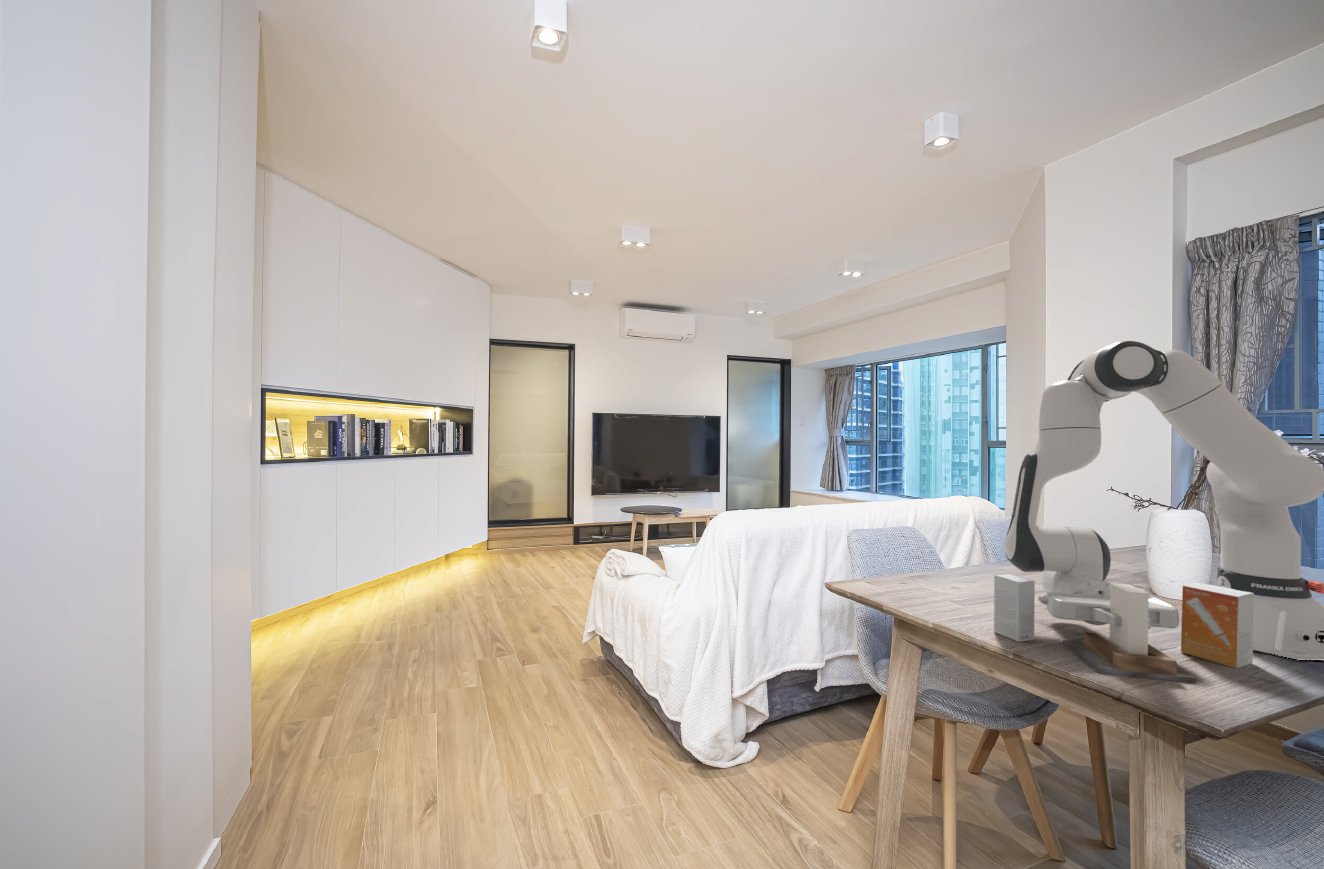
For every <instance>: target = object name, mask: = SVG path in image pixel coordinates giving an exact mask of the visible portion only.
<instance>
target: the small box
mask: <svg viewBox="0 0 1324 869" xmlns="http://www.w3.org/2000/svg"><path fill="white" fill-rule="evenodd" d="M1181 594H1182V600H1181V603H1182V604H1181V631H1180V633H1181V637H1180V638H1181V640H1180V652H1181V653H1182V654H1186V655H1190V656H1192V657H1197V658H1199V659H1203V660H1207V661H1211V662H1213V663H1216V664H1220V665H1223V666H1226V667H1230V668H1233V669H1236V670H1237V669H1240V668H1242V667H1245V666H1248V665H1251V664H1253V659H1254V657H1253V656H1254V650H1253V618H1254V593H1251V592H1245V591H1239V590H1235V589H1230V588H1225V587H1220V586H1217V585H1213V584H1207V583H1201V582H1194V583H1189V584H1185V585H1182V593H1181Z"/></svg>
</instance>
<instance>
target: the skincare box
mask: <svg viewBox="0 0 1324 869" xmlns="http://www.w3.org/2000/svg"><path fill="white" fill-rule="evenodd" d="M993 576H994V577H993V578H994V580H993V581H994V586H993V587H994V588H993V590H994V593H993V594H994V597H993V598H994V600H993V601H994V602H993V604H994V605H993V606H994V608H993V632H994V634H997V635H1001V636H1003V637H1006V638H1008V639H1011V640H1013V641H1016V642H1026V641H1027V642H1028V641H1035V591H1036V590H1035V589H1036V588H1035V586H1036V585H1035V584H1036V582H1035V580H1034V579H1033V580H1032V579H1030V578H1029V579H1028V578H1024V577H1022V576H1021V577H1020V576H1017V575H1014V574H1009V573H1007V574H995V575H993Z"/></svg>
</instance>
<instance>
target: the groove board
mask: <svg viewBox="0 0 1324 869" xmlns="http://www.w3.org/2000/svg"><path fill="white" fill-rule="evenodd" d="M1062 645H1063V646H1064V647H1066V648H1067V649H1069V650H1070V651H1071V652H1072V653H1074V654H1075V655H1076V656H1077V657H1079V659H1081V660H1082V661H1084V662H1085V663H1086V664H1087V665H1089V666H1090V667H1091V668H1092V669H1094V670H1095V672H1097V673H1098V674H1099V673H1100V674H1105V675H1107V674H1108V675H1115V676H1116V675H1118V676H1126V677H1127V676H1128V677H1134V678H1135V677H1137V678H1138V677H1139V678H1147V679H1154V680H1155V679H1157V680H1165V681H1177V682H1185V683H1186V682H1187V683H1193V684H1194V683H1197V677H1195V676H1194V675H1193V674H1191V673H1189V672H1187V671H1186V670H1184V669H1182V668H1181V667H1179V666H1178V665H1177V662H1178V661H1177V660H1176V659H1174V658H1172V657H1170V656H1169V655H1167V654H1166V653H1164V652H1163V651H1160V650H1159V649H1157V648H1156V647H1155V646H1152V645H1151V644H1149V643H1148V656H1147V655H1137V654H1126V653H1125V652H1123V651H1122V650H1120V649H1119V648H1117V647H1116V646H1114V645H1113V644H1111V643H1110V640H1107V639H1106V638H1104V637H1103V636H1102V635H1100V634H1098V633H1097V632H1089V631H1084V632H1083V641H1081V640H1070V639H1069V640H1068V639H1062Z"/></svg>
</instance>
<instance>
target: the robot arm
mask: <svg viewBox="0 0 1324 869" xmlns="http://www.w3.org/2000/svg"><path fill="white" fill-rule="evenodd" d="M1133 392H1134V393H1138V394H1140V395H1142V396H1144V397H1145V398H1147V399H1148V400H1149V401H1150V402H1152V404H1153V405H1154V407H1155V408H1156V409H1157V410H1158V411H1159V413H1160V414H1161V415H1162V416H1163V417H1164V418H1165V420H1166V421H1167V422H1168V423H1169V424H1170V425H1171V427H1173V429H1174V430H1175V431H1176V432H1177V433H1178V435H1180V437H1181V438H1182V439H1183V441H1184V442H1185V443H1187V445H1189V446H1191V447H1192V448H1193V449H1195V450H1196V451H1198V453H1200V454H1201V455H1202V456H1204V457H1205V458H1206V459H1207V460H1208V461H1209V463H1208V465H1207V467H1206V472H1205V473H1206V474H1205V476H1206V479H1207V481H1208V483H1209V485H1210V488H1211V491H1212V496H1213V500H1214V505H1215V506H1214V507H1215V509H1216V514H1217V518H1218V523H1219V531H1220V566H1219V567H1217V574H1216V586H1220V587H1225V588H1230V589H1235V590H1239V591H1245V592H1251V593H1254V618H1253V651H1257V652H1261V653H1266V654H1270V653H1271V655H1274V654H1275V655H1274V656H1277V655H1278V657H1281V656H1283V657H1282V658H1284V657H1287V658H1286V659H1288V658H1294V659H1302V660H1303V659H1305V660H1307V659H1309V660H1311V659H1324V605H1323V604H1322V603H1320V602H1319V601H1317V600H1316V599H1314V598H1313V595H1312V593H1311V592H1315V593H1318V594H1323V595H1324V583H1323V582H1318V581H1316V580H1312V581H1308V580H1307V579H1305V578H1303V577H1301V573H1302V572H1301V564H1302V562H1301V561H1302V560H1301V559H1302V556H1301V555H1302V553H1301V552H1302V540H1301V535H1300V534H1299V532H1298V530H1296V528H1295V525H1294V524H1293V521H1292V519H1291V515H1290V514H1291V513H1290V511H1289V507H1296V506H1301V505H1304V504H1309V503H1311V502H1313V501H1315V500H1316V499H1317V498H1319V497H1320V496H1321V495H1322V494H1323V493H1324V469H1323V467H1321V465H1320V464H1319V463H1317V462H1316V461H1314V460H1313V459H1311V458H1310V457H1307V456H1306V455H1304V454H1302V453H1301V452H1300V451H1298V450H1297V449H1296V448H1294V447H1293V446H1292V445H1291V444H1289V443H1288V442H1287V441H1286V440H1284V439H1283V438H1282V437H1281V436H1279V435H1278V434H1277V433H1276V432H1274V431H1273V430H1272V429H1270V428H1269V427H1268V426H1267V425H1265V424H1264V423H1263V422H1261V421H1260V420H1259V419H1258V418H1256V417H1255V416H1254V414H1252V413H1251V411H1249V410H1248V409H1247V408H1246V407H1245V406H1244V405H1243V404H1242V403H1241V402H1240V400H1238V398H1236V397H1235V395H1234V394H1233V393H1232V392H1231V391H1230V390H1229V389H1228V388H1227V387H1226V386H1225V385H1224V384H1223V383H1222V382H1221V380H1219V378H1218V377H1217V376H1216V375H1215V374H1214V373H1213V372H1212V371H1211V370H1210V369H1208V368H1207V367H1206V366H1205V365H1203V364H1202V363H1201V362H1200V361H1199V360H1198V359H1196V358H1195V357H1193V356H1192V355H1191V354H1189V353H1187V352H1186V351H1184V350H1181V349H1180V350H1179V349H1168V350H1164V351H1160V350H1158V349H1155V348H1153V347H1151V346H1150V345H1148V344H1146V343H1143V342H1140V341H1135V340H1123V341H1118V342H1114V343H1111V344H1109V345H1106V346H1105V347H1102V348H1100V349H1098V350H1096V351H1094V352H1092V353H1091V354H1090V355H1089V356H1088V357H1086V358H1085V359H1083V360H1081V361H1080V362H1078V364H1077V365H1076V366H1075V367H1074V368H1073V370H1072V371H1071V373H1070V375H1069V376H1068V378H1067V380H1061V381H1056V382H1054V383H1052V384H1051V385H1050V384H1049V386H1047V387H1046V388H1045V390H1044V391H1043V393H1042V396H1041V401H1040V402H1041V403H1040V408H1039V416H1038V418H1039V419H1038V421H1039V422H1038V429H1039V430H1038V431H1039V432H1038V440H1037V443H1036V445H1035V447H1034V449H1033V451H1031V452H1030V453H1028V454H1026V455H1025V456H1024V458H1023V460H1022V463H1021V466H1020V469H1019V473H1018V477H1017V478H1018V479H1017V484H1016V488H1015V489H1016V490H1015V494H1014V501H1013V508H1012V514H1011V518H1010V522H1009V526H1008V530H1007V533H1006V536H1005V537H1006V538H1005V543H1004V550H1005V552H1004V553H1005V556H1006V559H1007V560H1008V562H1010V563H1011V565H1013V566H1014V567H1016V568H1017V569H1018V570H1020V571H1021V572H1023V573H1035V572H1038V573H1039V572H1042V574H1041V578H1040V581H1041V586H1042V588H1043V591H1044V592H1045V593H1046V595H1045V594H1044V595H1043V596H1037V600H1038V602H1040V603H1041V604H1043V605H1046V606H1045V607H1046V611H1047V613H1049V614H1050V616H1052V617H1053V618H1056V619H1060V620H1070V621H1080V622H1085V623H1086V624H1089V625H1093V626H1104V625H1109V626H1110V625H1111V626H1121V617H1120V616H1118V615H1117V614H1111V613H1110V583H1111V582H1109V581H1106V578H1107V577H1108V575H1109V573H1110V569H1111V562H1112V561H1111V560H1112V557H1111V551H1110V548H1109V545H1108V544H1107V542H1106V541H1105V540H1104V538H1103V537H1102V536H1101V535H1100V534H1099V533H1098V532H1097V531H1095V530H1094V529H1092V528H1089V527H1075V526H1073V527H1072V526H1062V527H1060V526H1039V525H1037V520H1038V515H1039V508H1040V501H1041V496H1042V490H1043V488H1044V486H1045V485H1046V484H1048V482H1049V481H1051V480H1054V479H1055V478H1057V477H1058V478H1059V476H1063V475H1066V474H1069V473H1073V472H1076V471H1078V470H1081V469H1083V468H1085V467H1087V466H1089V465H1090V464H1091V463H1093V462H1094V460H1096V459H1097V457H1098V456H1099V454H1100V451H1101V447H1102V430H1101V428H1102V427H1101V425H1102V424H1101V416H1100V415H1101V410H1102V407H1103V405H1104V403H1106V402H1109V401H1112V400H1116V399H1120V398H1123V397H1125V396H1128V395H1130V394H1131V393H1133ZM1137 588H1138V587H1137ZM1138 589H1140V590H1142V591H1145V592H1147V591H1146V590H1145V589H1142V588H1138ZM1179 613H1180V612H1179V610H1178V608H1177V607H1175V606H1174V605H1172V604H1170V603H1169V602H1166V601H1164V600H1163V599H1160V598H1158V597H1155V596H1152V595H1149V605H1148V630H1149V629H1151V627H1153V628H1162V629H1163V628H1164V629H1177V628H1178V627H1179V623H1180V615H1179Z"/></svg>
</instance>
